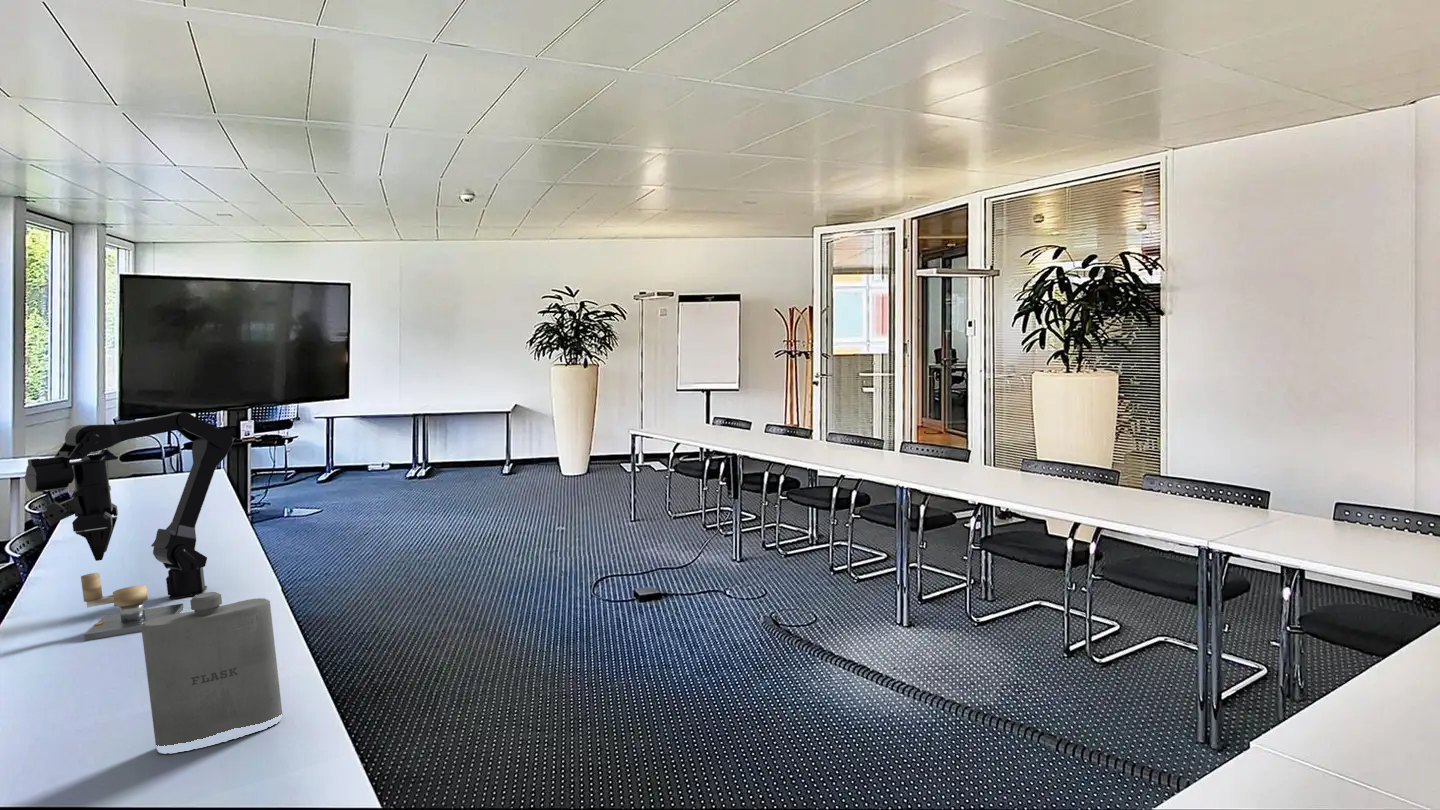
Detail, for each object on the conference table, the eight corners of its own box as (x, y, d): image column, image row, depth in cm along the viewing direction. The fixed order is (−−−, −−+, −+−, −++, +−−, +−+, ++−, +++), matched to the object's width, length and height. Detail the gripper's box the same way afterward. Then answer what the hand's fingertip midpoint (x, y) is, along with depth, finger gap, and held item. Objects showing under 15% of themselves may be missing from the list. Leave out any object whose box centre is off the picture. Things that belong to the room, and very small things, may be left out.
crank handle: (148, 595, 170) (144, 563, 169) (146, 602, 165) (142, 569, 164) (87, 606, 164) (82, 573, 164) (83, 613, 159) (78, 579, 159)
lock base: (183, 608, 175) (181, 588, 175) (169, 626, 163) (167, 605, 163) (105, 621, 169) (102, 600, 169) (84, 640, 158) (82, 618, 157)
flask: (155, 762, 105) (136, 612, 104) (157, 745, 110) (140, 601, 109) (284, 727, 113) (269, 587, 112) (281, 712, 118) (266, 578, 117)
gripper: (49, 484, 175) (58, 555, 176) (35, 495, 159) (45, 573, 160) (113, 477, 181) (122, 546, 182) (106, 486, 165) (115, 561, 166)
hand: (101, 556), depth 172 cm, fingers open, 9 cm apart
